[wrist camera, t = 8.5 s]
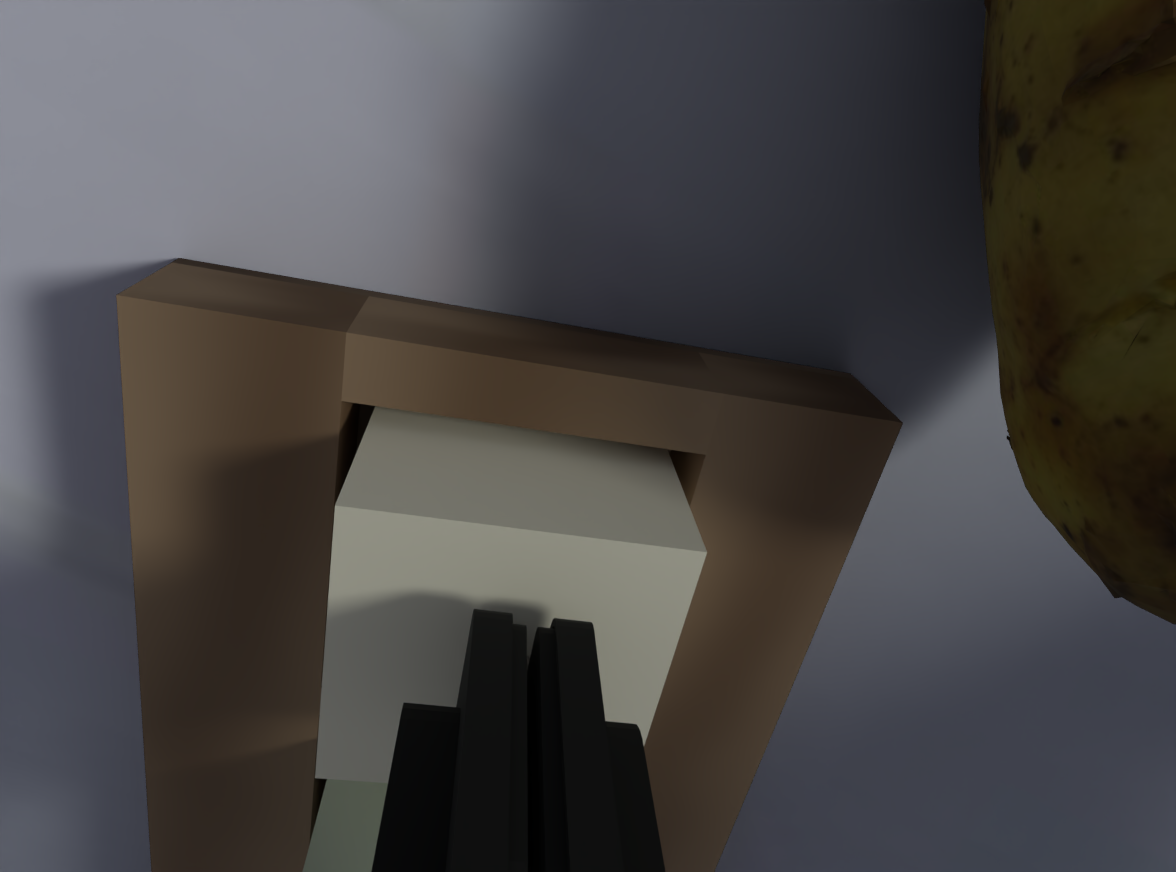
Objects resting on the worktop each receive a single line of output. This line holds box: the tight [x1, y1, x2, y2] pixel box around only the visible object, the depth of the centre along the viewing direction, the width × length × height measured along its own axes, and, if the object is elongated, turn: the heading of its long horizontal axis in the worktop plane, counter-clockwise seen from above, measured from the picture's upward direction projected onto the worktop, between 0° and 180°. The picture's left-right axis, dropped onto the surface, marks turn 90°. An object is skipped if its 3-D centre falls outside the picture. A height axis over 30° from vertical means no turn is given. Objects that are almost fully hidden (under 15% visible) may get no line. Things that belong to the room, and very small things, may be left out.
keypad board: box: [116, 258, 903, 872], centre depth 17 cm, size 12×21×2 cm, turn 168°
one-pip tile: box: [315, 406, 707, 783], centre depth 13 cm, size 5×5×4 cm
